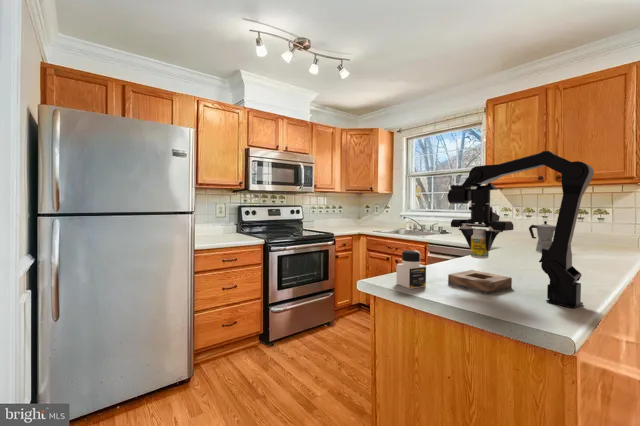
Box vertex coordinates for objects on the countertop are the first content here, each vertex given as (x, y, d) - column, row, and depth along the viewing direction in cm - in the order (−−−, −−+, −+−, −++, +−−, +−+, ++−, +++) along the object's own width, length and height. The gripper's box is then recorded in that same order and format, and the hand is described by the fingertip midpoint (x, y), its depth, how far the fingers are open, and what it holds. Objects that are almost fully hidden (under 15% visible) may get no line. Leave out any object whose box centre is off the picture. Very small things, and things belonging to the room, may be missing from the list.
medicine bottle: (409, 289, 100) (409, 253, 99) (395, 283, 106) (396, 250, 106) (426, 286, 102) (426, 251, 102) (412, 281, 109) (412, 248, 109)
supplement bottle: (488, 256, 104) (489, 229, 103) (488, 259, 99) (489, 230, 99) (470, 255, 106) (471, 228, 106) (470, 257, 101) (470, 229, 101)
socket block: (511, 288, 101) (511, 277, 101) (488, 294, 94) (488, 283, 93) (471, 279, 113) (471, 269, 113) (448, 284, 105) (448, 274, 105)
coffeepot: (552, 250, 184) (553, 220, 183) (562, 252, 175) (562, 221, 174) (524, 249, 187) (525, 220, 186) (532, 251, 178) (533, 221, 177)
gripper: (522, 204, 98) (521, 251, 99) (468, 203, 114) (467, 245, 115) (504, 203, 92) (503, 254, 93) (450, 203, 108) (449, 247, 109)
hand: (479, 249), depth 102 cm, fingers closed on supplement bottle, 5 cm apart
